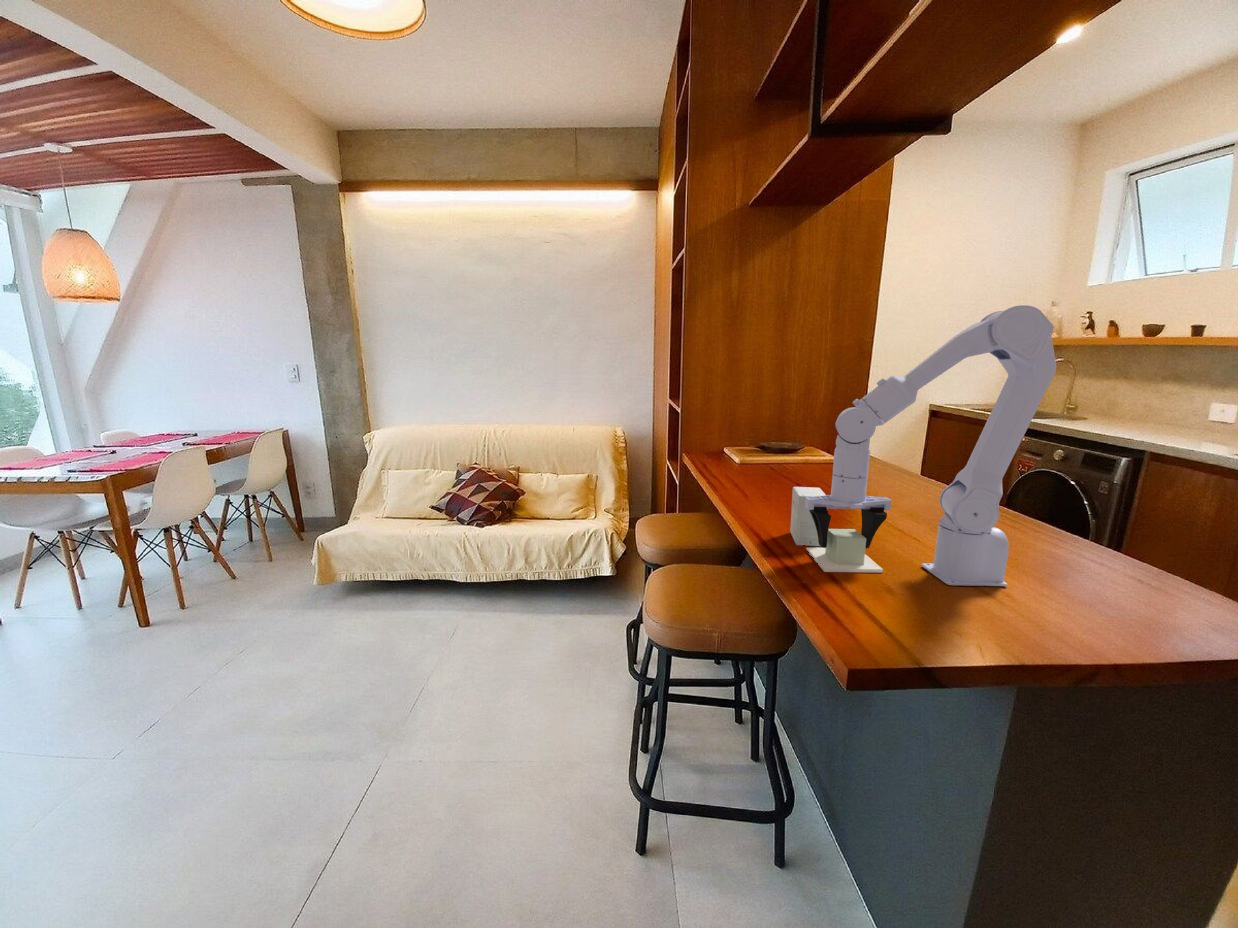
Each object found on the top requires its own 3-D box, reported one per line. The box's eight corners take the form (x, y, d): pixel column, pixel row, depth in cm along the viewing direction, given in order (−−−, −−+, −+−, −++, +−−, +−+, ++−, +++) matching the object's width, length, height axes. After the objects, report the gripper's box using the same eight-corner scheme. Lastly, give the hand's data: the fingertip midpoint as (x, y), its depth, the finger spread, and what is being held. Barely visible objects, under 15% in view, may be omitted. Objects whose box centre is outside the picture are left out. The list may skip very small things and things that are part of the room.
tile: (858, 550, 93) (858, 547, 93) (882, 572, 83) (883, 569, 83) (806, 550, 93) (806, 547, 93) (824, 571, 84) (824, 568, 83)
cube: (852, 553, 90) (854, 529, 89) (863, 564, 85) (866, 538, 84) (825, 553, 90) (827, 528, 89) (835, 564, 85) (837, 538, 84)
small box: (824, 547, 95) (829, 497, 92) (795, 545, 96) (798, 495, 94) (816, 533, 102) (820, 487, 100) (789, 532, 103) (792, 486, 101)
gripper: (816, 479, 81) (810, 553, 84) (903, 480, 80) (894, 555, 83) (803, 471, 88) (798, 539, 91) (883, 471, 87) (876, 540, 90)
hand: (843, 546), depth 87 cm, fingers open, 7 cm apart
